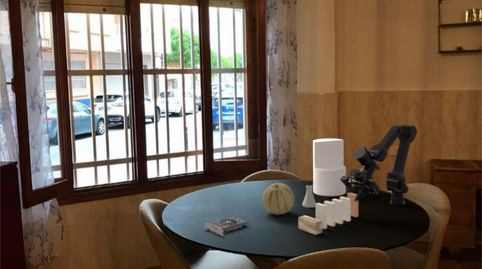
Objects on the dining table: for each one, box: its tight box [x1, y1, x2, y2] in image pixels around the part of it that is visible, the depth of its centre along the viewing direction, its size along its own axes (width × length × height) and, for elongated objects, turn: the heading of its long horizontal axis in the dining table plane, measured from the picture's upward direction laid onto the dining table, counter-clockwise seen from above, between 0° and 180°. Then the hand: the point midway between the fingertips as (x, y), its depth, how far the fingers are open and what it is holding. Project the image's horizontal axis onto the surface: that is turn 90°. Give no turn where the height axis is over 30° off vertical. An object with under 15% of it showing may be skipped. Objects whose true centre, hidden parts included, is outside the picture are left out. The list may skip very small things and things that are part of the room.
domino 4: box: [339, 196, 352, 222], centre depth 213 cm, size 2×5×10 cm, turn 36°
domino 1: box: [315, 202, 328, 230], centre depth 204 cm, size 2×5×10 cm, turn 36°
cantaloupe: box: [262, 182, 295, 216], centre depth 224 cm, size 15×15×15 cm
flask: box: [301, 185, 316, 209], centre depth 236 cm, size 7×7×10 cm
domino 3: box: [331, 198, 344, 225], centre depth 210 cm, size 2×5×10 cm, turn 36°
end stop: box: [297, 215, 323, 236], centre depth 201 cm, size 4×10×5 cm, turn 36°
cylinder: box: [312, 138, 347, 197], centre depth 259 cm, size 17×17×28 cm
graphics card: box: [204, 216, 248, 237], centre depth 206 cm, size 17×4×12 cm
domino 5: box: [347, 192, 359, 218], centre depth 216 cm, size 2×5×10 cm, turn 36°
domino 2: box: [323, 200, 336, 227], centre depth 207 cm, size 2×5×10 cm, turn 37°
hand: (350, 199), depth 215 cm, fingers closed on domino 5, 5 cm apart
